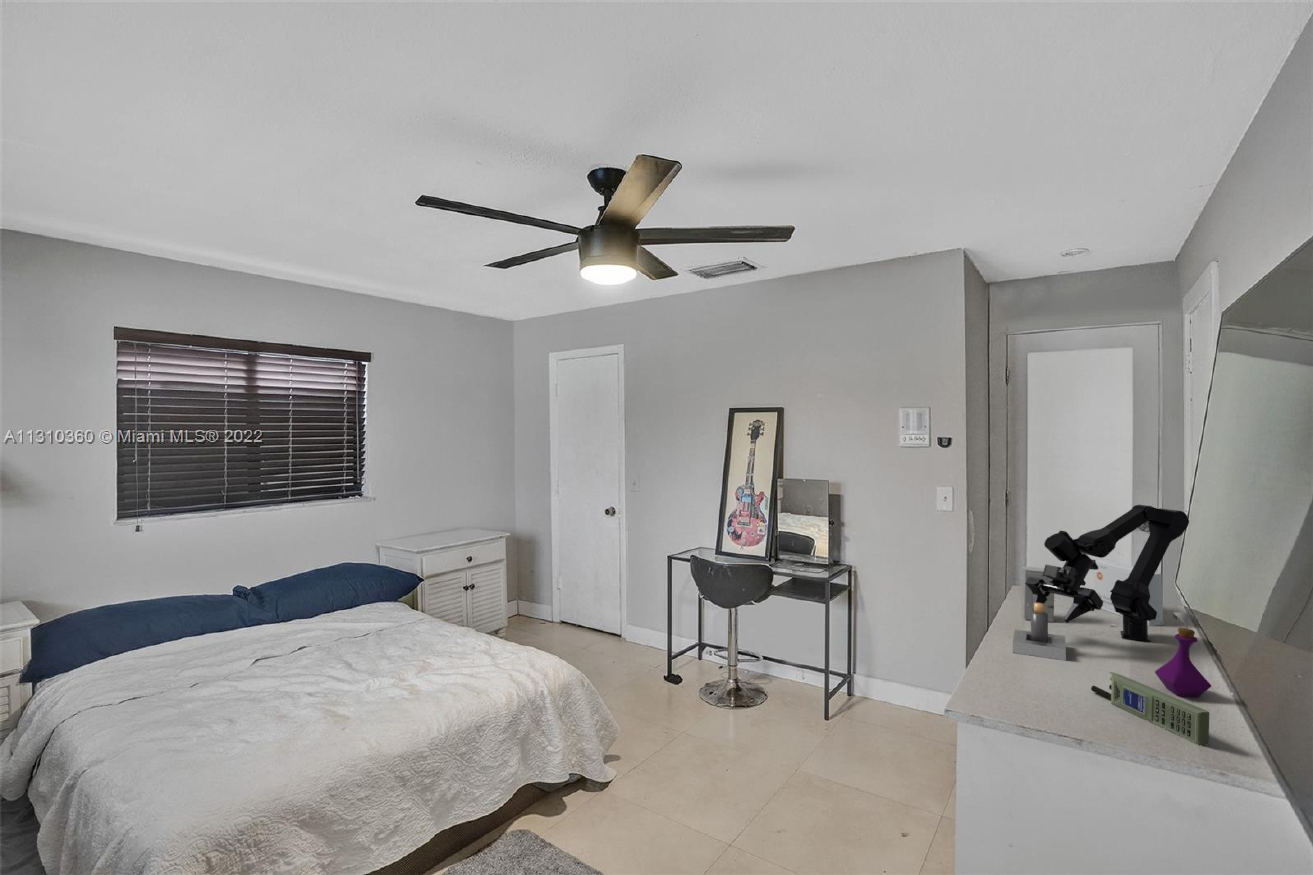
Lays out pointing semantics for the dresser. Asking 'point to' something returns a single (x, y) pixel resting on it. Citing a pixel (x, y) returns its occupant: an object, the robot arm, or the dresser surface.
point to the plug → (1039, 624)
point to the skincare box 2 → (1117, 571)
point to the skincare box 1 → (1028, 595)
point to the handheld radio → (1158, 708)
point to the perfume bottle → (1183, 666)
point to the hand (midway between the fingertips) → (1049, 617)
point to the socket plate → (1039, 645)
